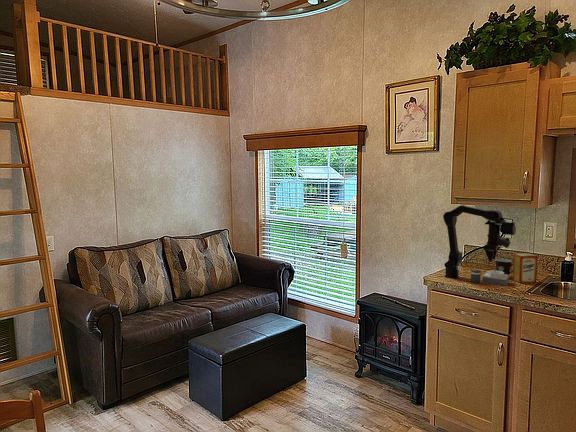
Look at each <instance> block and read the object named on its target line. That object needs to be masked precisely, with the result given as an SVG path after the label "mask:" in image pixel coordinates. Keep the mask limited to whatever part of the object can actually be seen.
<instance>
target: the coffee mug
mask: <svg viewBox="0 0 576 432" xmlns="http://www.w3.org/2000/svg"><path fill="white" fill-rule="evenodd" d="M494 261H495V271H502V272H504V275H505V274H508V275H509V276H510V274H511V273H513V272H514V270H512V271H511V267H512V266H514V263H512V260H510V259H506V258H497V259H496V258H495V259H494Z"/></svg>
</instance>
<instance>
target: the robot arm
mask: <svg viewBox="0 0 576 432" xmlns="http://www.w3.org/2000/svg"><path fill="white" fill-rule="evenodd" d="M463 213H465V214H469V215H473V216H478V217H482V218H484V219H486V220H487V221H486V222H485V223H484V225H487V226H488V231H487V232H488V234H487V235H486V237H487V241H486V244H484V246H483V250H484V253H485V255H486V257H487V259H488V262H490V263H491V262H492V261H493V260H496V258H497V257H496V256H497V253H498V252H499V251H498V250H500V249H501V248H502V246H503V247H504V248H506V249H508V248H509V247H510V246H511V244H512V242H511V240H510V238H509V237H505V238H504V237H503V238H502V235H509V236H515V234H516V231H517V228H516V227H517V226H516V223H515V222H514V221H512V222H508V221H506V220H505V219H504V217H503V213H502V212H501V211H500V210H496V209H495V210H494V209H483V208H482V209H481V208H476V207H473V206H467V205H465V204H461V205H459V206H457V207H456V208H453V209H452V210H450V211H446V212H444V214H443V216H442V218H443V222H444V225H446V228H447V236H448V245H449V253H448V260H447V261H446V262H445V263H444V264H443V265H444V267H445V275H444V277H445V278H452V279H457V278H458V277H459V275H460V274H459V273H460V269H459V268H458V267H459V265H460V264H461V263H462V262H463V259H464V256H463V252H461V251H460V250H459V245H458V244H459V243H458V237H457V228H456V225H457V221H458V216H459V217H460V215H461V214H463ZM500 233H501V234H502V235H501V234H500Z"/></svg>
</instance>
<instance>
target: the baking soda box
mask: <svg viewBox="0 0 576 432" xmlns="http://www.w3.org/2000/svg"><path fill="white" fill-rule="evenodd" d="M513 254H514V255H513V264H514V265H513V271H514V272H512V273H513V274H512V276H513V277H512V281H514V282H516V283H518V284H537V278H538V276H537V273H538V257H539V256H538V255H535V254H532V253H513Z"/></svg>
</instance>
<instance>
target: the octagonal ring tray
mask: <svg viewBox="0 0 576 432" xmlns="http://www.w3.org/2000/svg"><path fill="white" fill-rule="evenodd" d="M481 278H482V280H481V281H482V282H481V284H483V283H484V284H489V285H491V284H492V285H497V286H498V285H499V286H507V285H508V284H509V283H510V282H509V280H510V274H509V275H508V274H505V275H504V272H502V271H496V269H495V270H494V269H493V270H491V269H490V270H488V271H487V272H485V273H484V274H482V275H481Z"/></svg>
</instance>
